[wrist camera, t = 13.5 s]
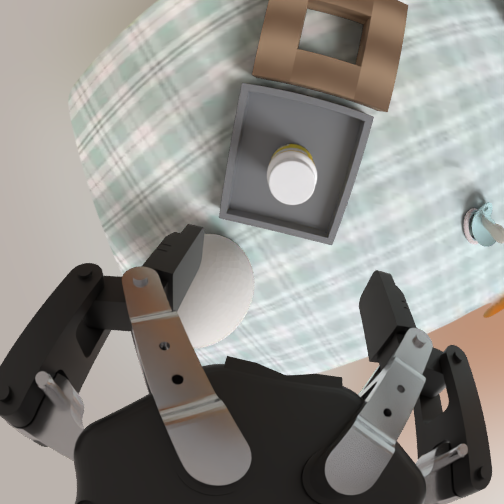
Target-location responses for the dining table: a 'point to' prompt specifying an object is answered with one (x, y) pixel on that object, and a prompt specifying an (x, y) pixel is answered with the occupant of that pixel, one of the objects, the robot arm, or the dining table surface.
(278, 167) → the supplement bottle
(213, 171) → the dining table surface
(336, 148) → the charcoal tray
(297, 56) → the walnut holder
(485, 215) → the pacifier
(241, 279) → the decorative egg
